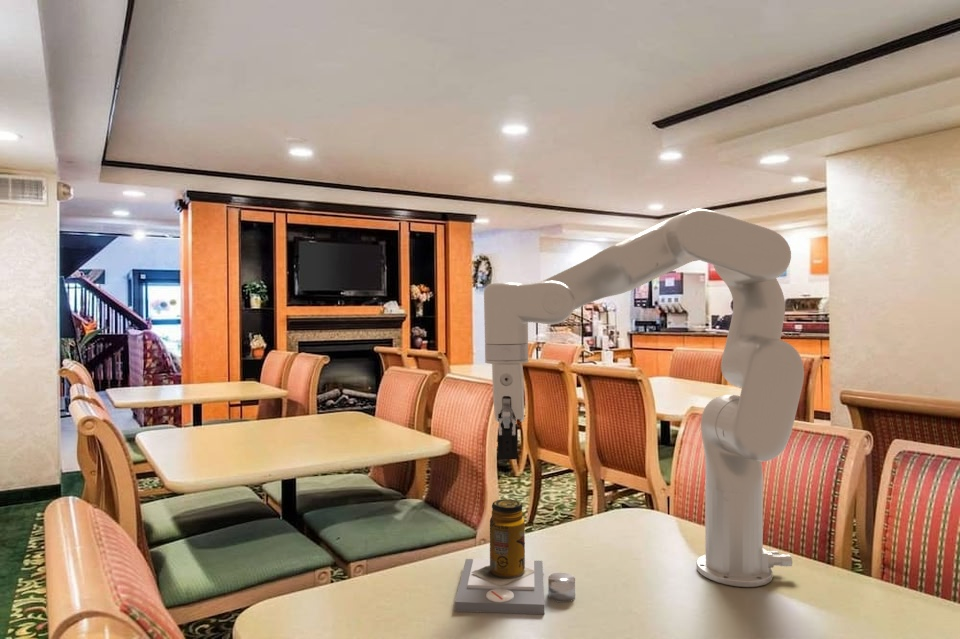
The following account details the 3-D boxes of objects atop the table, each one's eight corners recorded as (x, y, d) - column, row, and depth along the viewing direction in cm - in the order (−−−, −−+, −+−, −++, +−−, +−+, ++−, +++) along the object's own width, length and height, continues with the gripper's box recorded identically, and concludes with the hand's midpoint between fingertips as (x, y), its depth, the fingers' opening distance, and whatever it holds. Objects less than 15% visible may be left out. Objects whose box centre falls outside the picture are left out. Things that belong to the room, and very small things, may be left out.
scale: (542, 568, 115) (542, 558, 115) (544, 614, 98) (544, 601, 98) (465, 566, 116) (465, 556, 116) (454, 611, 99) (454, 598, 99)
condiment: (535, 572, 109) (535, 502, 109) (501, 587, 103) (500, 514, 103) (505, 560, 114) (504, 494, 114) (470, 574, 108) (470, 504, 108)
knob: (574, 590, 106) (574, 573, 106) (576, 603, 102) (576, 584, 102) (547, 590, 107) (547, 572, 107) (548, 602, 102) (548, 584, 102)
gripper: (528, 357, 101) (530, 464, 101) (527, 350, 118) (529, 441, 118) (481, 358, 101) (483, 464, 102) (487, 350, 118) (489, 441, 119)
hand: (508, 452), depth 110 cm, fingers open, 9 cm apart
